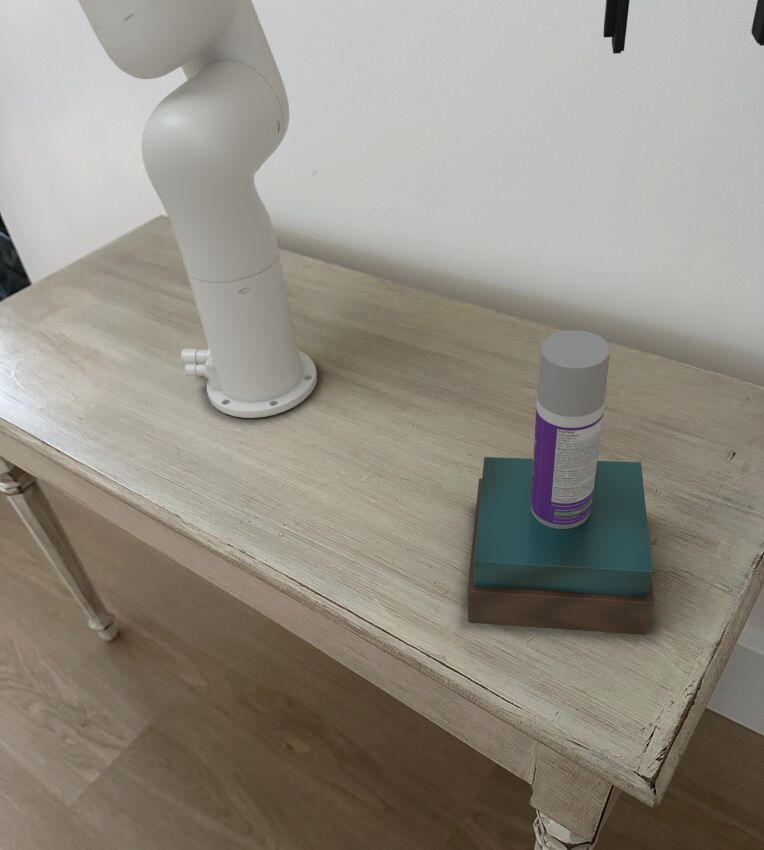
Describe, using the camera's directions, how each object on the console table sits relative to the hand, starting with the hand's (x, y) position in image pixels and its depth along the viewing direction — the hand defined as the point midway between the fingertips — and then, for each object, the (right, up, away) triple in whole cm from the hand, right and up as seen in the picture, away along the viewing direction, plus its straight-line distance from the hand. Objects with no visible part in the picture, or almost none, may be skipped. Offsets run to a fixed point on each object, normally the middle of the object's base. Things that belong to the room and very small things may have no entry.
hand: (687, 43), depth 56 cm
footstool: (-7, -38, +12) cm, 40 cm away
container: (-7, -33, +7) cm, 35 cm away
